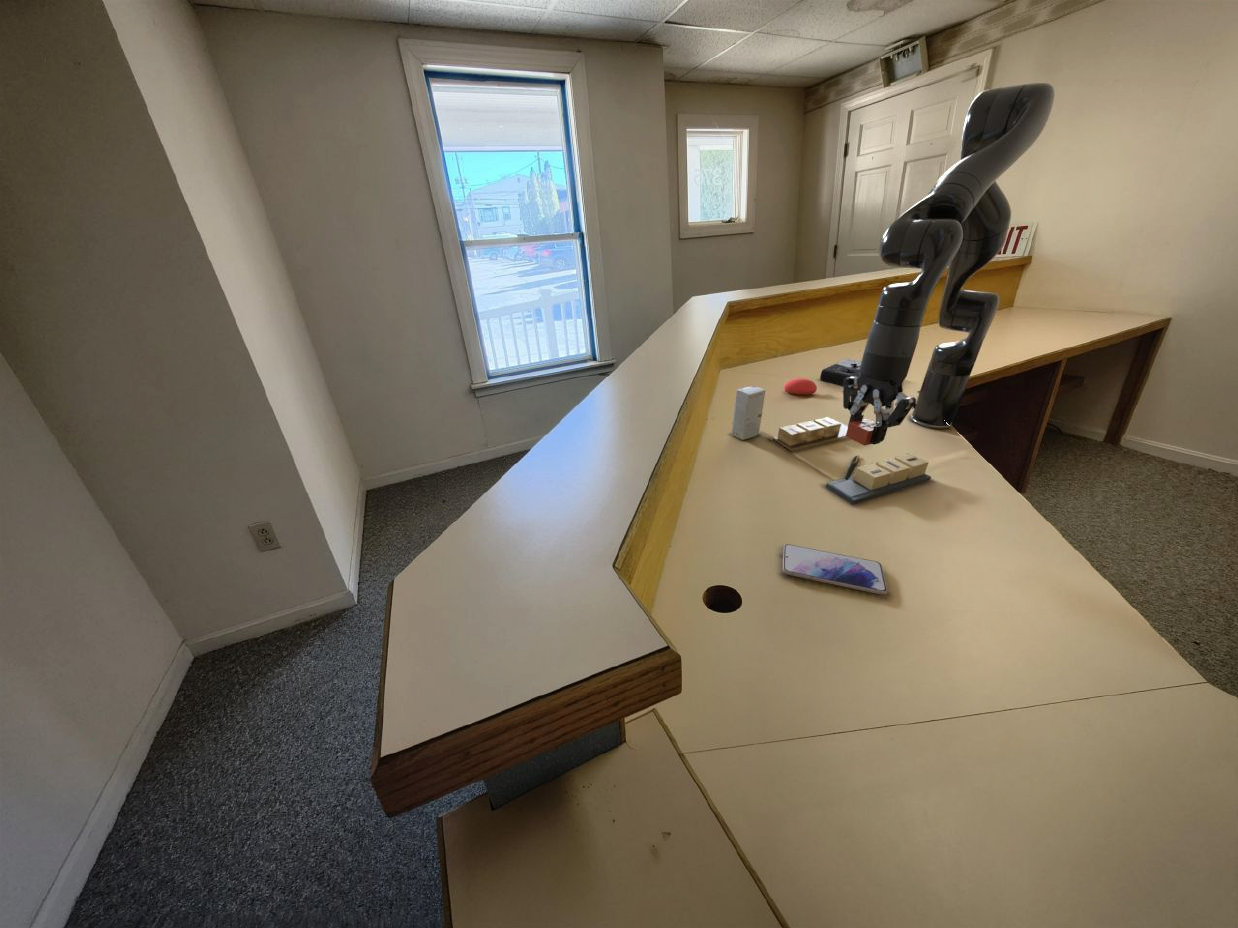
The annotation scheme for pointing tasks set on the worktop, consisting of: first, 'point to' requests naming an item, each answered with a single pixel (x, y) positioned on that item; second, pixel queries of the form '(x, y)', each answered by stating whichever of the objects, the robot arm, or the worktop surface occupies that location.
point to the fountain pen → (852, 467)
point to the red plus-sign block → (861, 431)
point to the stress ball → (800, 386)
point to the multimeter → (841, 371)
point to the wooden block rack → (881, 478)
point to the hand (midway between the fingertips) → (863, 437)
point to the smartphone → (834, 569)
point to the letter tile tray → (810, 432)
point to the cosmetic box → (748, 412)
